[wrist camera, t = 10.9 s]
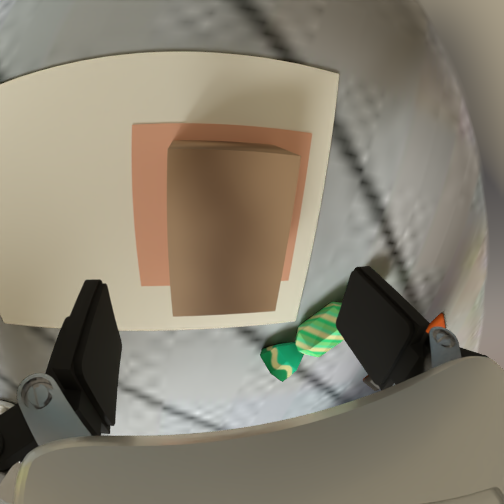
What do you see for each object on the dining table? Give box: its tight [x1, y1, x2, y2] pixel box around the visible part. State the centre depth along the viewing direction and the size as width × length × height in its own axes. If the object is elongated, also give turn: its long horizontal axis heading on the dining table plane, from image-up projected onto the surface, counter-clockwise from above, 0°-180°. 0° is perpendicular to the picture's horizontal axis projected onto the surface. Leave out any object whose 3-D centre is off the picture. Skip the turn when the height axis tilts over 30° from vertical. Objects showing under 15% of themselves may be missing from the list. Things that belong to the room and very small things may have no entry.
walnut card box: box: [167, 140, 301, 317], centre depth 15 cm, size 6×9×4 cm, turn 174°
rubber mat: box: [0, 52, 339, 331], centre depth 16 cm, size 20×28×1 cm
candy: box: [260, 302, 344, 382], centre depth 24 cm, size 12×3×4 cm
